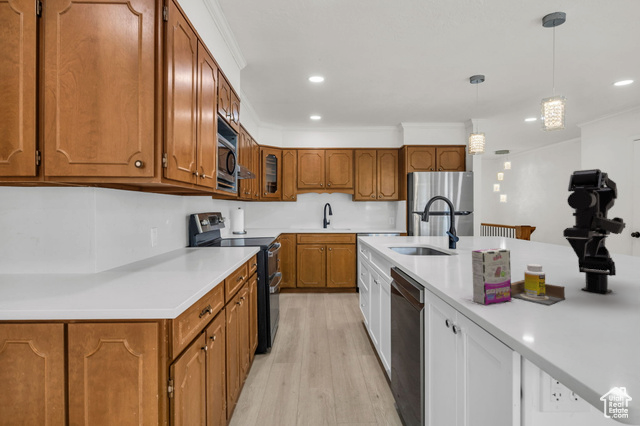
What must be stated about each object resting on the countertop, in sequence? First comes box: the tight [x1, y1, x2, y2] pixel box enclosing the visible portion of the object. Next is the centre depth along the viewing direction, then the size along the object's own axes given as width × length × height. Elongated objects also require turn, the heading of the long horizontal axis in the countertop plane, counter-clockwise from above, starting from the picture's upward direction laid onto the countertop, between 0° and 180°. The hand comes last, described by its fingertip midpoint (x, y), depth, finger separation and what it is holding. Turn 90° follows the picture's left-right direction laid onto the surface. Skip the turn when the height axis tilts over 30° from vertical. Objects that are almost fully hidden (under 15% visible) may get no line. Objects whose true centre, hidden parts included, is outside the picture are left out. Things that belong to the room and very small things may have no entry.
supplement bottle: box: [523, 263, 546, 298], centre depth 99 cm, size 6×6×10 cm
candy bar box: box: [471, 248, 513, 306], centre depth 97 cm, size 11×5×16 cm, turn 109°
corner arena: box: [511, 279, 566, 307], centre depth 99 cm, size 12×12×4 cm
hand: (587, 258), depth 97 cm, fingers open, 9 cm apart
